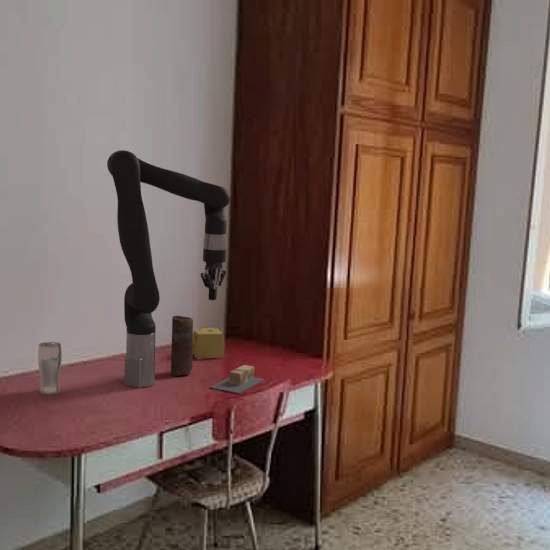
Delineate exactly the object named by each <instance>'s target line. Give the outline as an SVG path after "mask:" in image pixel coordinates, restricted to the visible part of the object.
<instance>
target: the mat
mask: <svg viewBox="0 0 550 550" xmlns="http://www.w3.org/2000/svg"><path fill="white" fill-rule="evenodd" d="M264 381H265V378H261V377H255V376H254V378H253V379H251V380H249V381H248V382H246V383H244V384H242V385H235V384H230V376H229V377H227V378H225V379H222V380H220V381H218V382H217V383H215V384H212V385H211V386H209V389H211V388H213V389H212V390H216V389H218V390H217V391H221V390H223V392H227V391H228V392H227V393H231V394H233V393H234V394H237V395H240V394H242V393H244V392H246V391H247V390H249V389H251V388H253V387H255V386H257V385H258V384H260V383H262V382H264Z"/></svg>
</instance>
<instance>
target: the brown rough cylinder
mask: <svg viewBox="0 0 550 550" xmlns="http://www.w3.org/2000/svg"><path fill="white" fill-rule="evenodd" d="M193 333H194V319H193V318H192V317H189V316H182V315H173V316H172V322H171V351H170V353H171V354H170V358H171V359H170V374H171V376H175V377H177V376H186V375H189V374H191V373H192V372H193V354H192V351H193Z"/></svg>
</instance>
